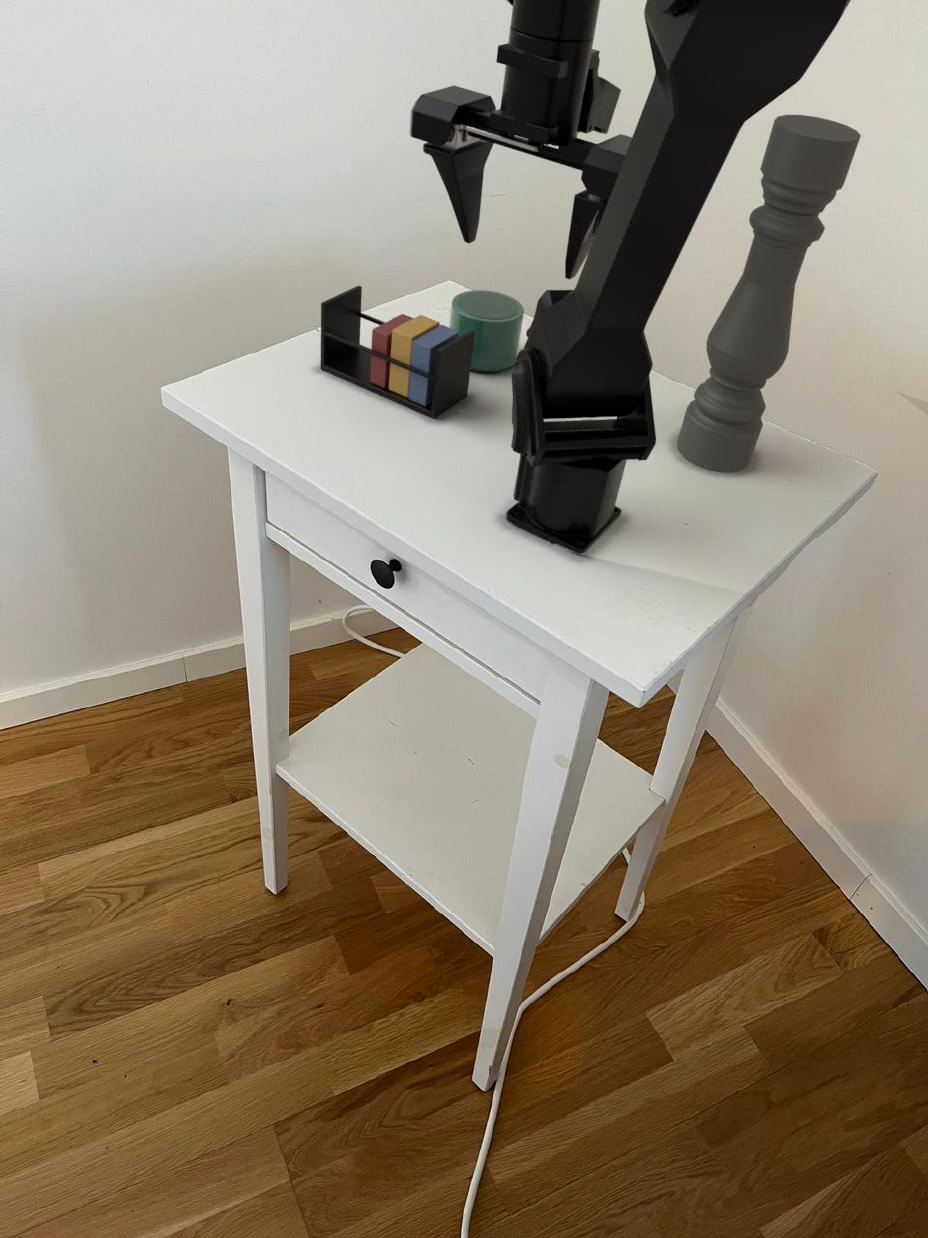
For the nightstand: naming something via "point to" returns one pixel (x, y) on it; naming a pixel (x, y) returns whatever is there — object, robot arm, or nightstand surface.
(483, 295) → the green glass jar
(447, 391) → the rack
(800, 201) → the candle holder
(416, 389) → the books
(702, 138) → the robot arm
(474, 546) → the nightstand surface
